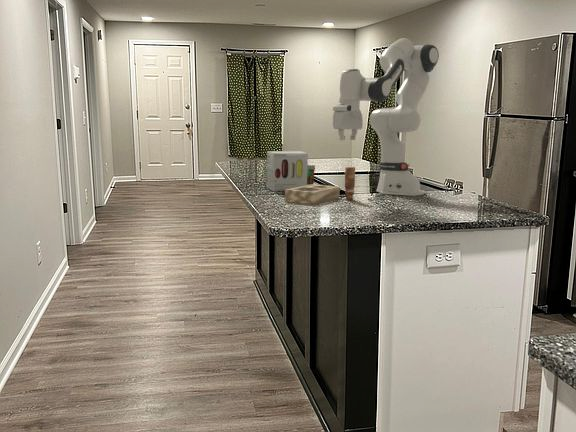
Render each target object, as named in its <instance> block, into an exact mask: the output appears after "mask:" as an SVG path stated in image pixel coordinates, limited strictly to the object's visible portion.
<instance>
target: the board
mask: <svg viewBox="0 0 576 432" xmlns="http://www.w3.org/2000/svg"><path fill="white" fill-rule="evenodd" d="M340 190H341V189H340V186H336V185H326V184H315V183H314V184H311V185H306V186H301V187H296V188H291V189H286V190H285V191H284V192H285V193H284V201H285V202H288V203H296V204H297V203H298V204H304V205H317V204H320V203H325V202H329V201H332V200H337V199H339V198H340Z"/></svg>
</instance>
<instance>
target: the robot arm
mask: <svg viewBox="0 0 576 432" xmlns="http://www.w3.org/2000/svg"><path fill="white" fill-rule="evenodd" d="M439 57H440V56H439V50H438V48H437V46H435V45H433V44H420V45H419V44H417V45H414V43H413V42H412V41H411V40H410V39H409V38H406V37H403V38H402V37H401V38H399V39H397V40H395V41H394V42H393V43H391V44H390V45H389V46H388V47H387V48H386V49H384V51H383V52H382V53H381V55H380V57H379V64H380V65H379V66H380V67H381V69H382V70H383V72H385V74H384V75H383V76H380V77H367V78H366V77H365V76H363V74H362V73H361V70H360V69H358V68H353V69H345V70H343V71H342V72H341V75H340V80H339V82H340V83H339V93H340V96H339V99H338V101H339V102H338V103H337V104H334V105H333V106H332V111H333V114H332V126H333V129H334V130H338V131H337V133H338V136H339V141H345V140H346V136H345V134H344V133H345V130H351V135H350V137H349V139H350V140H351V141H355V140H356V138H357V137H356V136H357V134H358V130H362V129H363V122H364V121H363V113H362V111H361V110H360V106H361V105H360V104H361V103H360V102H361V101H362V102H363V101H364V102H365V101H366V102H369V101H370V102H381V103H382V102H384V101H386V100H387V99H388V98H389V96H390V94H391V92H392V89H393V88H394V86H395V85H396V84H397V82H398V80H399V79H400V78H401V76H402V75H403V73H404V71H408V75H407V76H406V77H405V79H404V81H403V82H402V84H401V86H400V87H399V89H398V90H397V92H396V94H395V102H396V104H397V105H398V106H397V107H382V108H378V109H374V110H373V111H372V112H371V114H370V117H369V124H370V127H371V128H372V129H373V130H374V131H375V133H376V135H377V136H378V139H379V142H380V161H379V179H378V183H377V188H376V192H378V193H380V194H383V195H394V196H395V195H396V196H407V197H409V196H414V197H415V196H422V195H425V194H426V191H425V190H421V182H420V180H419V179H418V178H417V177H416V176H415V175H414V174H413V173H412V172H411V171H409V167H410V164H409V163H407V162H405V161H406V160H405V159H406V145H405V143H404V142H403V141H402V140H400V138H399V136H398V133H404V134H405V133H411V132H415V131H417V130H418V129H419V127H420V125H421V115H420V113H419V111H417V107H418V105H419V103H420V101H421V99H422V98H423V95H424V93H425V92H426V89H427V87H428V85H429V82H430V81H429V80H430V75H429V73H431V72H432V71H433V70H434V68H435V66H436V65H437V63H438V61H439Z"/></svg>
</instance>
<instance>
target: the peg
mask: <svg viewBox="0 0 576 432" xmlns="http://www.w3.org/2000/svg"><path fill="white" fill-rule="evenodd" d="M344 170H345V171H344V188H345V189H344V192H345V194H344V195H345V201H353V200H354V194H355V193H354V192H355V184H356V182H355V180H356V167H354V166H346V167H344Z"/></svg>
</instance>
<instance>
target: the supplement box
mask: <svg viewBox="0 0 576 432" xmlns="http://www.w3.org/2000/svg"><path fill="white" fill-rule="evenodd" d="M308 155H309V154H308V152H305V151H302V150H280V151H279V150H277V151H275V150H274V151H273V150H272V151H270V150H269V151H267V152H266V188H267V189H268V190H270V191H272V192H282V191H284V192H285V190H286V189H291V188H296V187H301V186H306V185H307V165H309V164H308V163H309V162H308V161H309V160H308V158H309V157H308Z"/></svg>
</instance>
